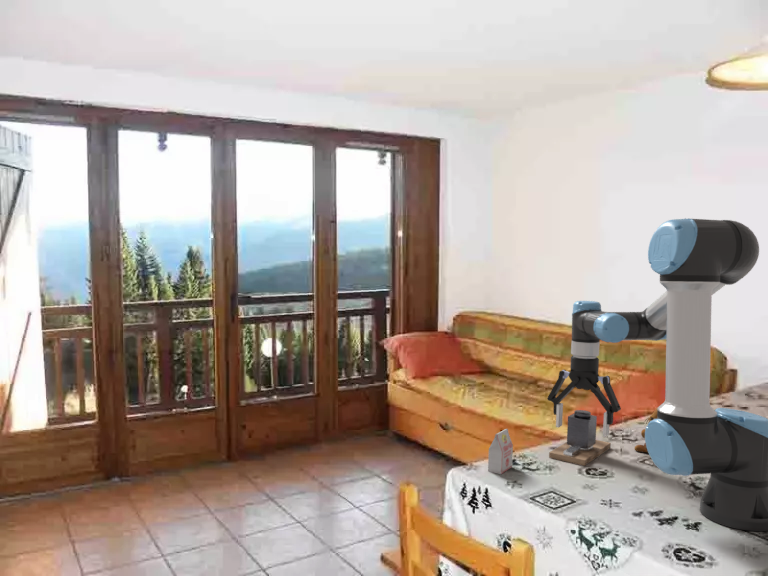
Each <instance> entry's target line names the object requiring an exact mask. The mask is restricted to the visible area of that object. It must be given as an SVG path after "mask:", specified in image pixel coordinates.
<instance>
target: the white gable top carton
mask: <svg viewBox="0 0 768 576" xmlns="http://www.w3.org/2000/svg"><path fill="white" fill-rule="evenodd" d="M513 447H514V445H513V442H512V439H511V437H510V433H509V429H508V428H505V429H503V430H502V431H499V432H497V433H495V434H494V438H493V441H492V442H491V444H490V446H489V447H488V456H487V457H488V459H487V460H488V461H487V463H488V465H487V471H488V472H489V473H495V474H499V475H502V474H504V473H505V472H507V471H508V470H510V469H511V468H512V467H513V453H514V451H513Z"/></svg>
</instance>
